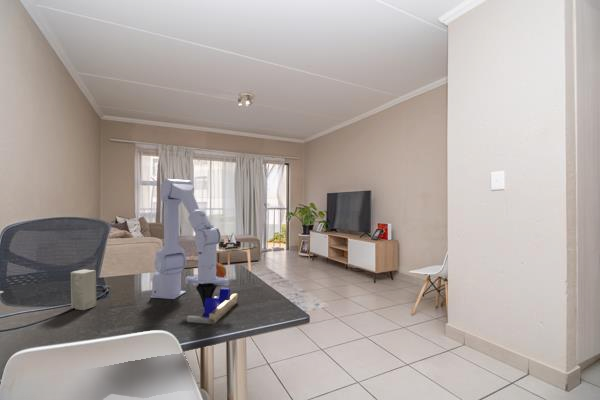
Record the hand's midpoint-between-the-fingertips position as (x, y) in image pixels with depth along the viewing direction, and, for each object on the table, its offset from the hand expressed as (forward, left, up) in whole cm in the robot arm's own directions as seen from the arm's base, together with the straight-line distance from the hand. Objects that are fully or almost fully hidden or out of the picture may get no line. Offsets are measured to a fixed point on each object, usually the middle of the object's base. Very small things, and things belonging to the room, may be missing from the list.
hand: (206, 306), depth 91 cm
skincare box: (-42, -5, -2) cm, 42 cm away
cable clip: (+3, 0, -2) cm, 4 cm away
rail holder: (+2, 0, -1) cm, 3 cm away
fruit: (-13, +33, -2) cm, 35 cm away
